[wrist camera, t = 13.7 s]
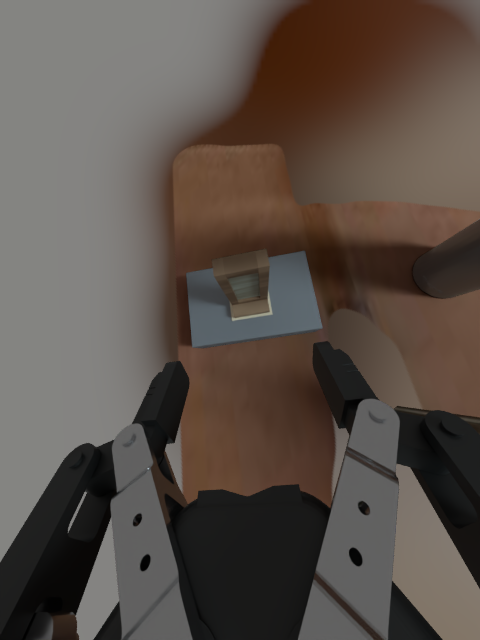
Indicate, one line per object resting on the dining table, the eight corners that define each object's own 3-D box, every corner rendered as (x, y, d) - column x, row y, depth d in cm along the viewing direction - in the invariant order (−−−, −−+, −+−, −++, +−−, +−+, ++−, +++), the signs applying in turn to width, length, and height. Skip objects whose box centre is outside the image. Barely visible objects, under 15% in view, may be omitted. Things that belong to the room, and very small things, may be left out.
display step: (299, 264, 38) (305, 250, 33) (314, 331, 35) (322, 327, 30) (195, 283, 40) (185, 272, 35) (201, 348, 37) (191, 347, 32)
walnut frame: (269, 312, 32) (273, 283, 19) (234, 318, 32) (216, 294, 20) (263, 279, 33) (263, 232, 20) (230, 285, 34) (209, 243, 21)
